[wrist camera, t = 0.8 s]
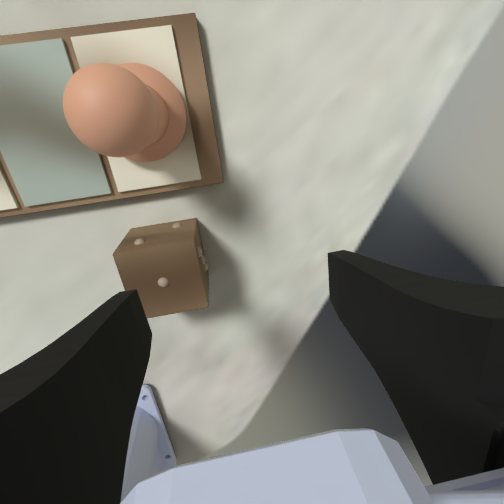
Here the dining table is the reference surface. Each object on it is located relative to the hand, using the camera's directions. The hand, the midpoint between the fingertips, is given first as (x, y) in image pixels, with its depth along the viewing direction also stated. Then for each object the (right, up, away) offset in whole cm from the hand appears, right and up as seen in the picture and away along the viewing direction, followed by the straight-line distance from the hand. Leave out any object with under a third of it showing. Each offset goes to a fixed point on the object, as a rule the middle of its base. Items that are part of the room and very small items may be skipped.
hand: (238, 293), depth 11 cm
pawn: (-5, +8, +4) cm, 11 cm away
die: (-5, +2, +8) cm, 10 cm away
